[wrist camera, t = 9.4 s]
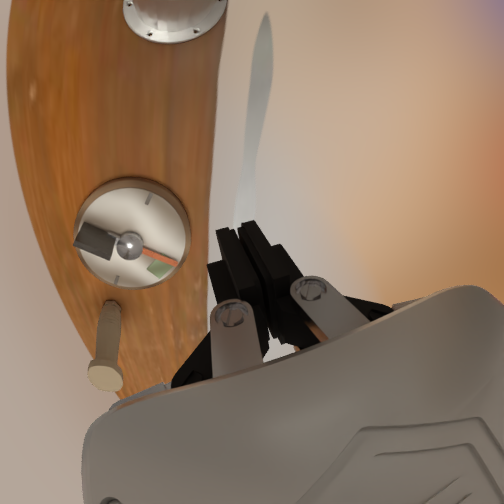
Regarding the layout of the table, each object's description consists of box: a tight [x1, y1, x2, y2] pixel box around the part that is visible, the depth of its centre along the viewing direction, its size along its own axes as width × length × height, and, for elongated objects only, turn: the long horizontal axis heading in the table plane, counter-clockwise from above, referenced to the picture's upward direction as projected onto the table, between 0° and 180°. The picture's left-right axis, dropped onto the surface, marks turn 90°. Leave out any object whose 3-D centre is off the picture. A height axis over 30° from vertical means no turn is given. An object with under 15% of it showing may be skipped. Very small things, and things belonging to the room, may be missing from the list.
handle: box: [88, 301, 123, 392], centre depth 38 cm, size 5×6×15 cm
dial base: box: [74, 177, 191, 290], centre depth 38 cm, size 17×17×3 cm
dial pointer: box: [73, 222, 178, 267], centre depth 34 cm, size 14×4×5 cm, turn 55°
